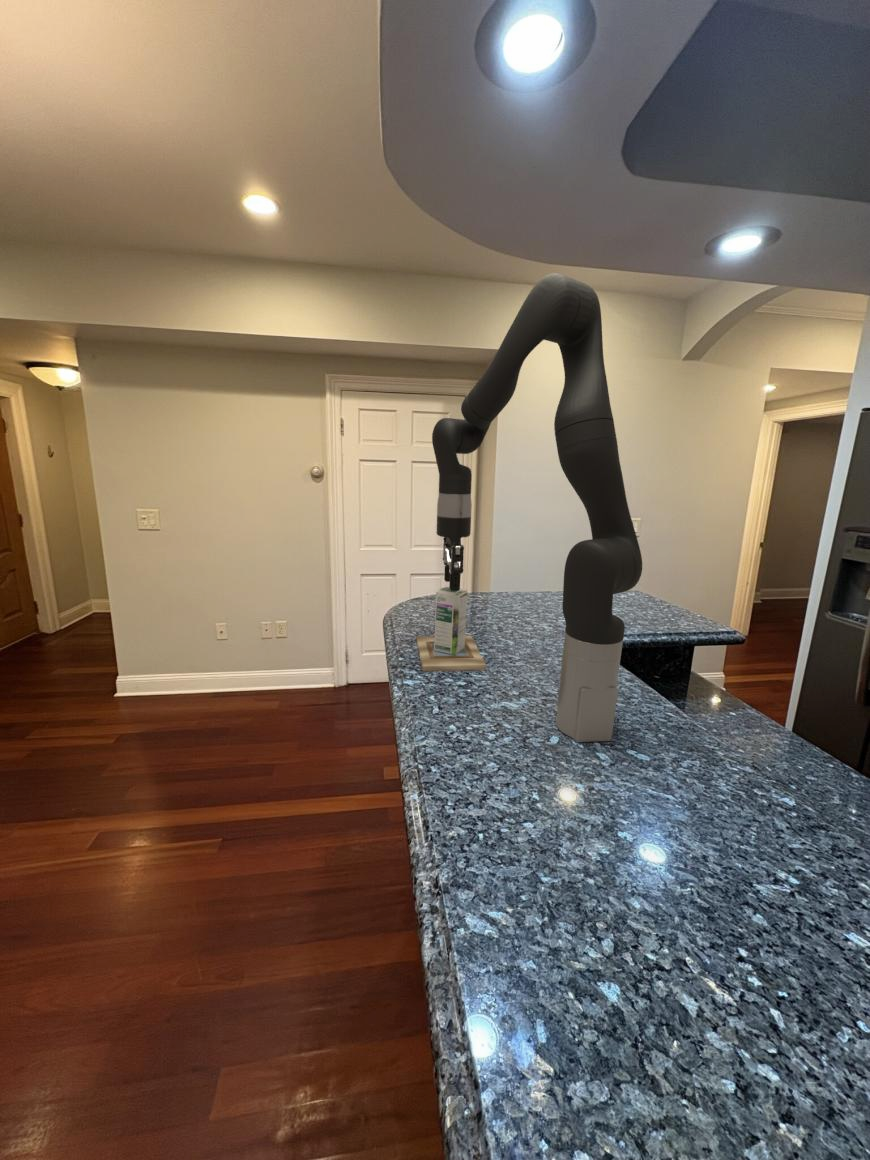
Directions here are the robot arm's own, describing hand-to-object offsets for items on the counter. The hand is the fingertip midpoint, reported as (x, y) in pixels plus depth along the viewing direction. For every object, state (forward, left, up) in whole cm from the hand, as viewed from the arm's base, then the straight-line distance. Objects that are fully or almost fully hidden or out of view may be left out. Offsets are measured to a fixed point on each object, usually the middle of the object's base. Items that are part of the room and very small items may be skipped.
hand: (451, 585), depth 109 cm
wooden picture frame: (0, 0, -17) cm, 17 cm away
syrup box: (0, 0, -16) cm, 16 cm away
